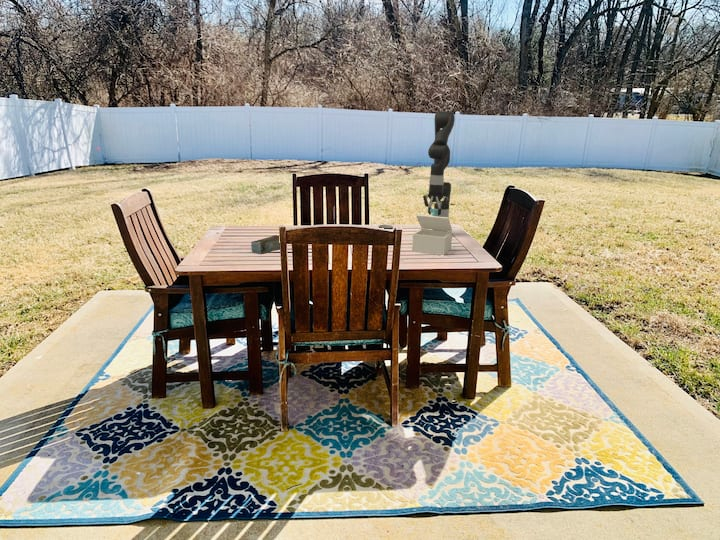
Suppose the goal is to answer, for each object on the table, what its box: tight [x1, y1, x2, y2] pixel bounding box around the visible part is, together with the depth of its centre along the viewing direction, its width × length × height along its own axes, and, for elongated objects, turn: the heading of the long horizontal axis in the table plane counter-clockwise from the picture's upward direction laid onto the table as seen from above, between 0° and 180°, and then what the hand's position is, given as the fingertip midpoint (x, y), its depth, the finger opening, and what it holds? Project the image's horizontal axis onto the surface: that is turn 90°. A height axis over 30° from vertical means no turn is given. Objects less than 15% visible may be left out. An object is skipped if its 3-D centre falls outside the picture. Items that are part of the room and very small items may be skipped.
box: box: [411, 228, 453, 256], centre depth 279 cm, size 15×18×10 cm
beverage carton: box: [250, 234, 281, 255], centre depth 276 cm, size 8×19×7 cm, turn 144°
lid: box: [415, 208, 453, 233], centre depth 279 cm, size 15×18×6 cm
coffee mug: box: [377, 224, 394, 230], centre depth 292 cm, size 12×9×10 cm
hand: (434, 214), depth 276 cm, fingers closed on lid, 4 cm apart
